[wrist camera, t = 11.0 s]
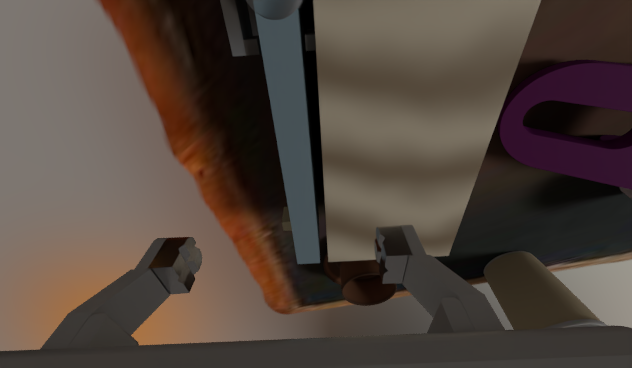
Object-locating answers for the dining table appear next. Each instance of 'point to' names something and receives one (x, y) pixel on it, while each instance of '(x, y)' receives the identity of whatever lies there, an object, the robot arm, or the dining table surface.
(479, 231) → the dining table surface
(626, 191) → the smoothie
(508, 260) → the coffee cup
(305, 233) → the door
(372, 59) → the cabinet
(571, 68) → the mounting bracket
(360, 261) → the cup and saucer
